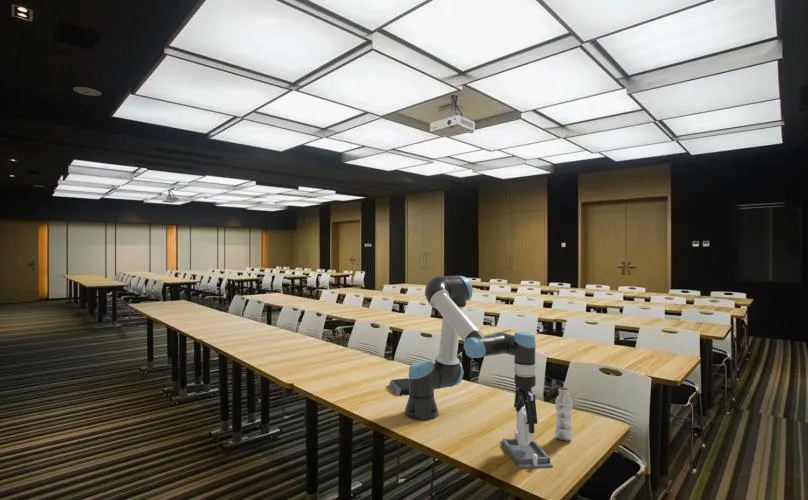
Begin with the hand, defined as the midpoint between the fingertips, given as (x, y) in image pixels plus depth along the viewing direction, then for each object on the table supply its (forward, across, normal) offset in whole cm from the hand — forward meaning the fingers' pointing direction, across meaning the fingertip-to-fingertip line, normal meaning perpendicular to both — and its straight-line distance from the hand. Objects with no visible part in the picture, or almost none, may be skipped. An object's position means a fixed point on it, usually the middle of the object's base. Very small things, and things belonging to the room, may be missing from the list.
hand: (525, 434), depth 152 cm
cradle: (+7, 0, 0) cm, 7 cm away
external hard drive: (+7, +77, +40) cm, 87 cm away
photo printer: (+2, 0, 0) cm, 2 cm away
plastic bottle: (+7, +11, -20) cm, 24 cm away
